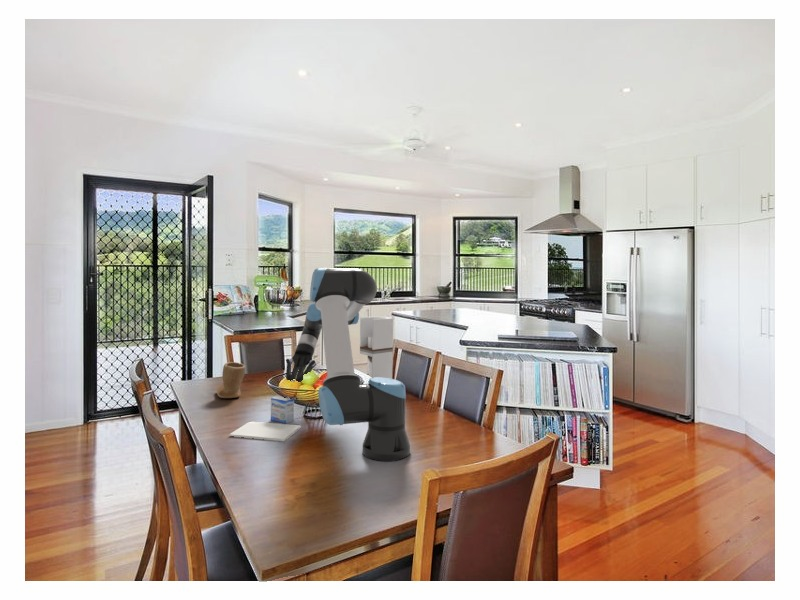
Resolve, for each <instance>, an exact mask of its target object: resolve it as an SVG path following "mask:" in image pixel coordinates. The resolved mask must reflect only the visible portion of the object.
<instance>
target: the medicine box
mask: <svg viewBox="0 0 800 600" xmlns="http://www.w3.org/2000/svg"><path fill="white" fill-rule="evenodd" d="M284 397H285V396H281V395H277V396H273V397H271V398H270V421H272V422H276V423H280V424H289V423H292V422H294V421H295V399H294V398H292V399H290V398H289V397H286V398H284Z"/></svg>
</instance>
